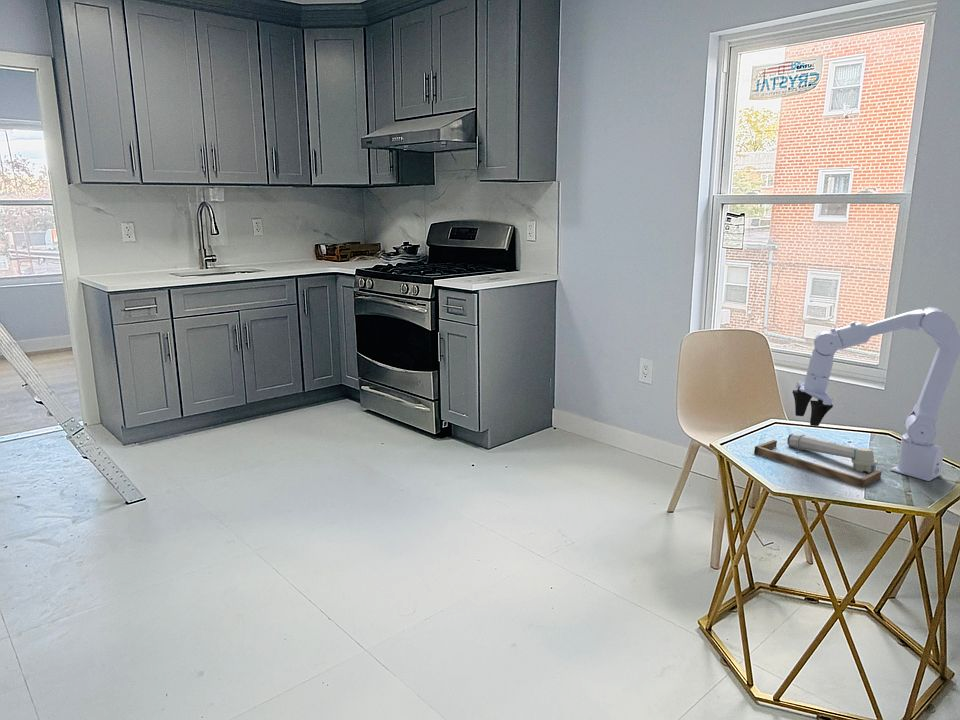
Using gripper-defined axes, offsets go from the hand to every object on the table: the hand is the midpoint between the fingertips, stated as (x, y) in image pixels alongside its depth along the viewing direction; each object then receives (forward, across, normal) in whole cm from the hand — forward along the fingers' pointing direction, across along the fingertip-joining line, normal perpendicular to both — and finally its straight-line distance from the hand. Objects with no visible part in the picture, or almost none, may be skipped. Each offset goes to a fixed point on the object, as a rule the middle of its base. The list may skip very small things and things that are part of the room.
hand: (806, 420), depth 193 cm
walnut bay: (+10, +8, 0) cm, 13 cm away
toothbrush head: (+10, +3, +8) cm, 13 cm away
